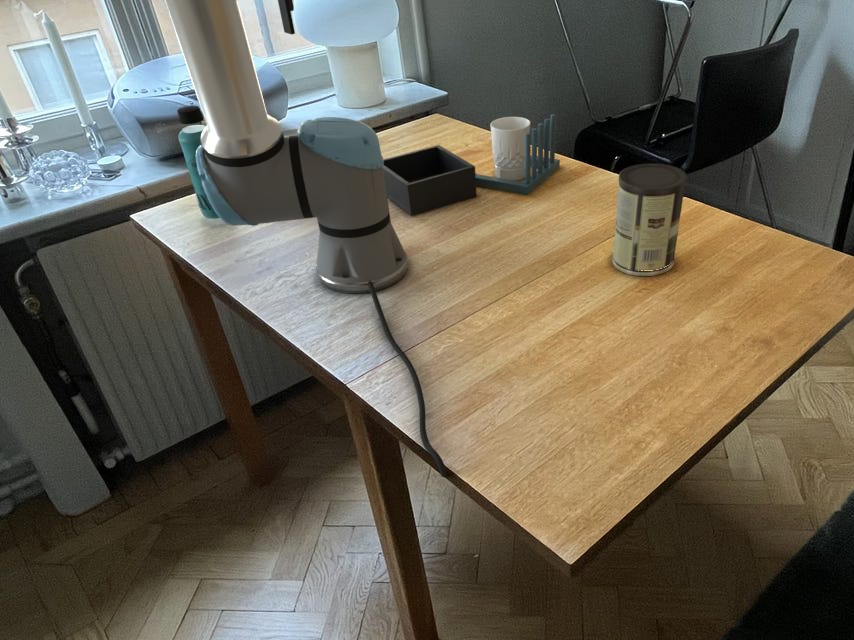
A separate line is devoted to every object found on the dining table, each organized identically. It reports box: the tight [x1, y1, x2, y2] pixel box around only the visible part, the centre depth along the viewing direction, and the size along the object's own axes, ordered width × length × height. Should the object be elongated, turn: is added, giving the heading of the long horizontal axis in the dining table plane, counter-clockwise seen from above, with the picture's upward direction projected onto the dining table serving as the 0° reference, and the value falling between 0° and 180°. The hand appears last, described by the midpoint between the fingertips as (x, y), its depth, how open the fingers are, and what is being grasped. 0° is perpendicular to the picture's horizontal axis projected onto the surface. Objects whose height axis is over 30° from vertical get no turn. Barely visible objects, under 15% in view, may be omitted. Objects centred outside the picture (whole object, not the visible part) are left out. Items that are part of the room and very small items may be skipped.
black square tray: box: [383, 144, 477, 217], centre depth 143 cm, size 15×15×6 cm
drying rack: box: [475, 113, 561, 196], centre depth 145 cm, size 13×15×11 cm
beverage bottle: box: [176, 104, 221, 220], centre depth 134 cm, size 6×7×20 cm
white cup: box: [490, 116, 532, 181], centre depth 146 cm, size 8×8×10 cm
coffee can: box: [611, 162, 688, 277], centre depth 116 cm, size 10×10×14 cm
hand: (257, 41), depth 132 cm, fingers open, 13 cm apart
